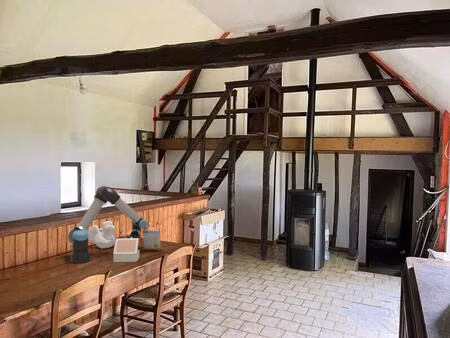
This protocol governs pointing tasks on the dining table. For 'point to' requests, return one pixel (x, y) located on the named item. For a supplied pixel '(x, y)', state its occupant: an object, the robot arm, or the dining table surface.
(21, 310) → the dining table surface
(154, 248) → the cracker box
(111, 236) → the decorative rooster
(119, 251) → the mailer lid
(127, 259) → the box
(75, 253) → the robot arm
